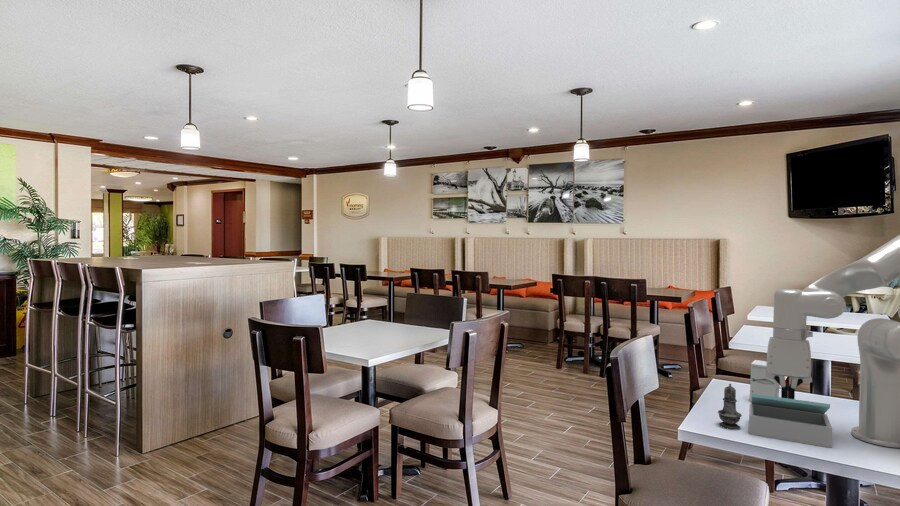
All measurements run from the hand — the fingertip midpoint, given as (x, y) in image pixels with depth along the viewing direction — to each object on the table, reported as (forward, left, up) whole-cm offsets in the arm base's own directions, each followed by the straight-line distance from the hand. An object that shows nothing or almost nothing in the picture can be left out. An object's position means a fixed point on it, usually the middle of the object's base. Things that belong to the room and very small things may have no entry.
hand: (787, 401), depth 141 cm
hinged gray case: (0, +2, -8) cm, 8 cm away
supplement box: (+5, -27, -8) cm, 29 cm away
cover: (0, +2, -1) cm, 2 cm away
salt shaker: (+14, +4, -8) cm, 17 cm away
